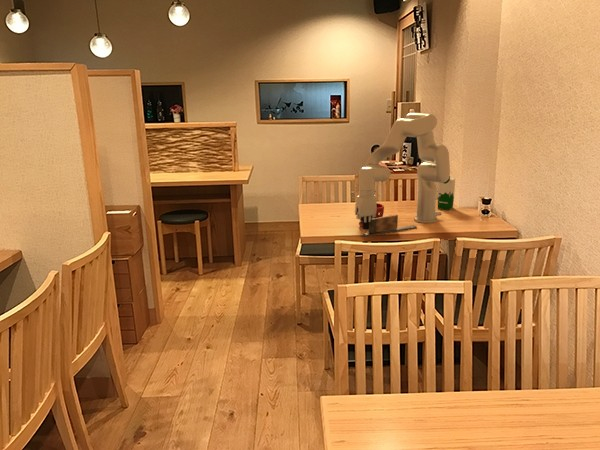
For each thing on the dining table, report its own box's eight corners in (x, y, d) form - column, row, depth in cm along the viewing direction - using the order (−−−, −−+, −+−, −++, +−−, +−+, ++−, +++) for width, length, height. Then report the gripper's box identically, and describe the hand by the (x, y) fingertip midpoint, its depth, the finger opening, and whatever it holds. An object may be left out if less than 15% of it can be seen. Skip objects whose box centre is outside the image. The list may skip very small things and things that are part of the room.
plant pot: (370, 231, 252) (371, 209, 249) (352, 226, 262) (353, 204, 259) (388, 227, 260) (389, 205, 256) (370, 222, 270) (371, 200, 267)
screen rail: (412, 226, 260) (413, 224, 260) (416, 228, 257) (416, 226, 257) (363, 235, 246) (363, 233, 246) (366, 237, 244) (366, 235, 244)
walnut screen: (395, 227, 254) (395, 214, 252) (398, 228, 252) (398, 215, 250) (369, 232, 247) (369, 218, 245) (371, 233, 245) (372, 219, 243)
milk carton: (435, 209, 295) (437, 175, 290) (440, 205, 302) (442, 173, 297) (450, 210, 291) (452, 177, 285) (454, 207, 298) (457, 174, 292)
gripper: (374, 189, 246) (373, 225, 251) (349, 193, 239) (348, 229, 244) (383, 192, 239) (382, 229, 244) (357, 196, 233) (357, 233, 238)
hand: (365, 229), depth 244 cm, fingers closed
